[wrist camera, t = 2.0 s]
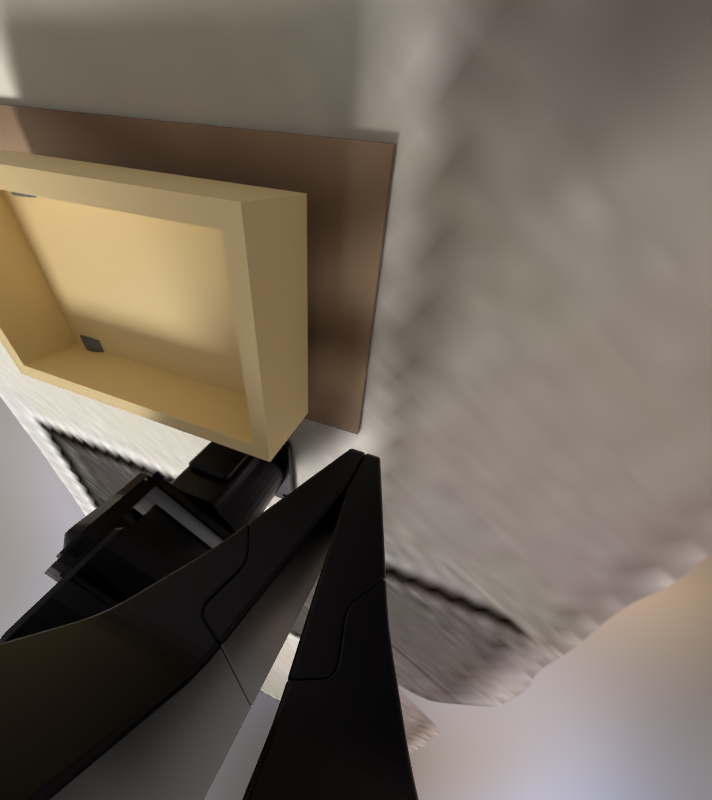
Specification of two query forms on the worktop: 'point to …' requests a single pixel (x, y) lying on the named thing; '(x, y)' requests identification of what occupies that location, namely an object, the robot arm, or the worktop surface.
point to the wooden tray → (158, 295)
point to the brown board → (271, 168)
